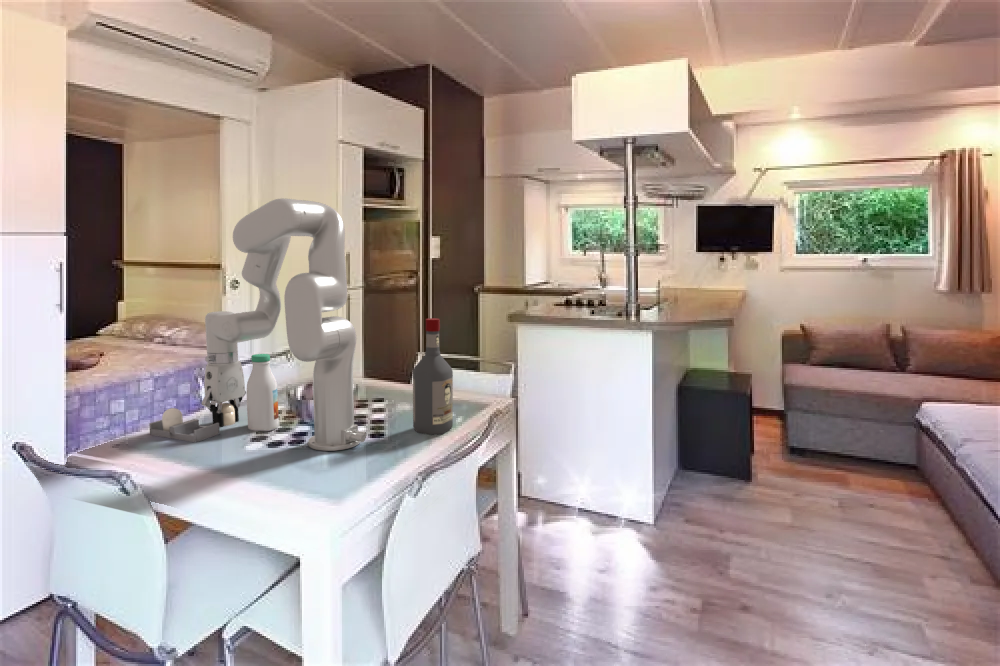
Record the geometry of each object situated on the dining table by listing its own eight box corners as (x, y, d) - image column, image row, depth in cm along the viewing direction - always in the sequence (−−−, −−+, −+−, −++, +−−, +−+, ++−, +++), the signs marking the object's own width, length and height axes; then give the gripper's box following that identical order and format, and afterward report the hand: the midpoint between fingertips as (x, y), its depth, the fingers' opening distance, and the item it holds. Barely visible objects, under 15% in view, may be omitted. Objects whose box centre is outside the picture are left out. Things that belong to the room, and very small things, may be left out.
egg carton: (219, 436, 156) (219, 422, 156) (195, 444, 149) (195, 430, 149) (175, 428, 162) (174, 416, 161) (150, 436, 155) (149, 423, 154)
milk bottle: (268, 433, 159) (265, 358, 156) (241, 431, 160) (238, 356, 158) (284, 425, 166) (281, 353, 164) (259, 423, 168) (256, 351, 165)
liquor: (409, 431, 162) (408, 319, 158) (427, 423, 170) (427, 316, 166) (438, 436, 158) (438, 322, 154) (456, 427, 166) (456, 318, 162)
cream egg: (187, 430, 158) (186, 407, 157) (172, 435, 154) (170, 411, 153) (174, 428, 160) (172, 405, 159) (158, 433, 155) (157, 409, 155)
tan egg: (239, 424, 167) (238, 401, 166) (226, 428, 162) (225, 405, 162) (226, 422, 168) (225, 400, 167) (212, 426, 164) (211, 404, 163)
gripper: (208, 364, 154) (211, 434, 156) (256, 354, 169) (259, 417, 172) (185, 362, 156) (189, 431, 159) (235, 352, 172) (238, 414, 174)
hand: (226, 423), depth 165 cm, fingers closed on tan egg, 4 cm apart
